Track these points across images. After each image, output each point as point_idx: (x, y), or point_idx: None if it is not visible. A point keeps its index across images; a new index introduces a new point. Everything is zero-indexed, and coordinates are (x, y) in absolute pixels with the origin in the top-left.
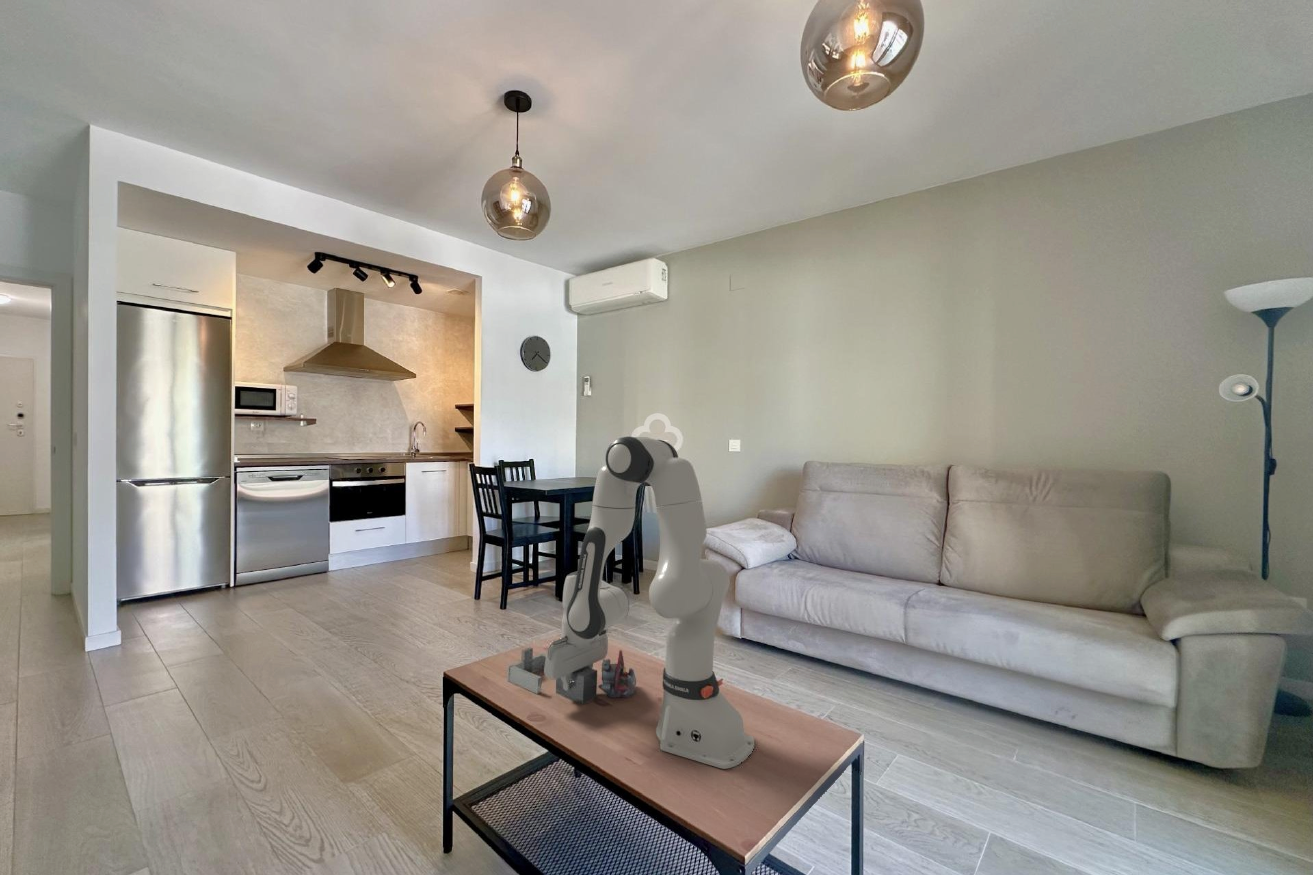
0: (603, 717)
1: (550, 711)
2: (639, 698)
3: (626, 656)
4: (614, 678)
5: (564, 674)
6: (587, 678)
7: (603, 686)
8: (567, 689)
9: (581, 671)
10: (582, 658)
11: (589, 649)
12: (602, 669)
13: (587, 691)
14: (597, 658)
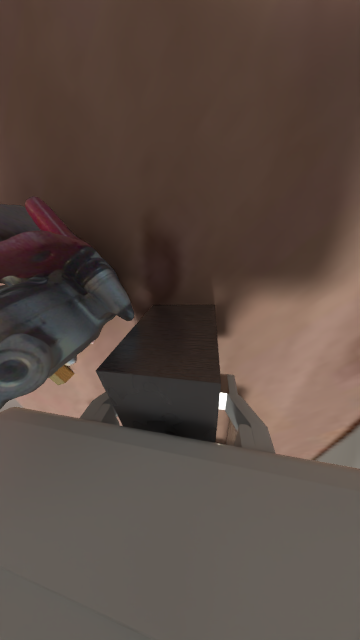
0: (254, 139)
1: (314, 346)
2: (26, 174)
3: None
4: (47, 289)
5: (323, 473)
6: (185, 361)
7: (119, 298)
8: (234, 376)
9: (175, 417)
10: (134, 526)
11: (13, 591)
12: (68, 376)
13: (190, 321)
14: (39, 431)
